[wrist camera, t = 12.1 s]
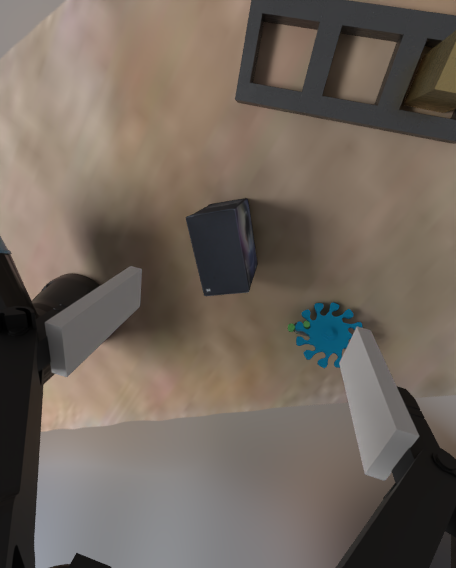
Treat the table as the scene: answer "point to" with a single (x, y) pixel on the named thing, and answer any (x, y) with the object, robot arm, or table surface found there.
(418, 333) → the table surface
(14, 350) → the robot arm
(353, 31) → the grey flat frame
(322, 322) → the gear
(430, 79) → the olive yellow block
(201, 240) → the small box
